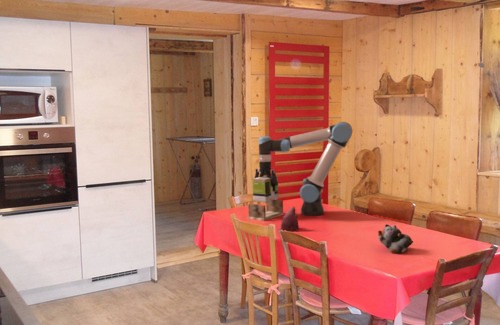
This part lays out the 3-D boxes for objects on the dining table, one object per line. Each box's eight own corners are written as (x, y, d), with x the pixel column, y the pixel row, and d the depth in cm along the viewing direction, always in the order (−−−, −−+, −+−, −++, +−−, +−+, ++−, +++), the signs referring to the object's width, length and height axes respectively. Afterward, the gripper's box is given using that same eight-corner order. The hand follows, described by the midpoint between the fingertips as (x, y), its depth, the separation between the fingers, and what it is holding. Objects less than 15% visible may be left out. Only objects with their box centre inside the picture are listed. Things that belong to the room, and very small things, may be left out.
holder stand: (284, 214, 356) (283, 200, 354) (263, 221, 337) (262, 206, 336) (269, 212, 363) (268, 198, 362) (247, 219, 344) (247, 204, 343)
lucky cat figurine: (399, 255, 258) (384, 229, 259) (382, 259, 268) (369, 234, 269) (418, 241, 266) (404, 216, 267) (401, 246, 276) (388, 221, 277)
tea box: (266, 197, 358) (265, 175, 356) (278, 198, 352) (278, 176, 350) (252, 201, 346) (252, 178, 344) (265, 202, 340) (265, 179, 338)
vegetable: (299, 233, 318) (306, 208, 317) (293, 235, 309) (300, 209, 307) (283, 227, 322) (290, 203, 321) (277, 229, 313) (284, 204, 312)
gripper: (247, 160, 350) (248, 195, 352) (276, 162, 336) (277, 198, 339) (254, 159, 356) (255, 193, 358) (283, 161, 342) (283, 196, 344)
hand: (265, 195), depth 348 cm, fingers closed on tea box, 10 cm apart
